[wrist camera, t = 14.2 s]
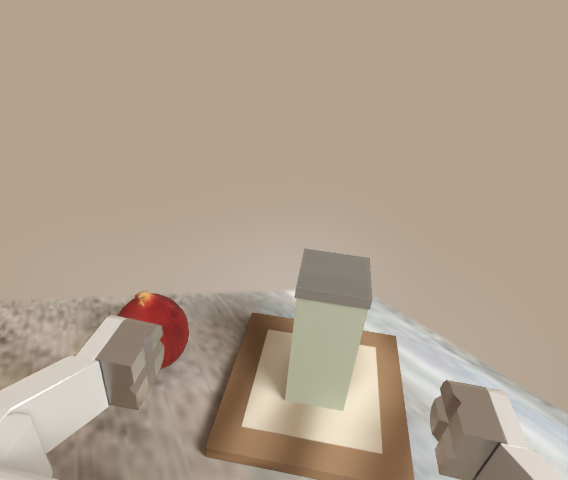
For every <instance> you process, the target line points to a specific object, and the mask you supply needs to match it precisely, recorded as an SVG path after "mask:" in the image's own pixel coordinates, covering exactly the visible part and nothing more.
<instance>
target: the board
mask: <svg viewBox="0 0 568 480" xmlns="http://www.w3.org/2000/svg"><path fill="white" fill-rule="evenodd" d="M293 325H294V319H289V318H283V317H276V316H270V315H264V314H258V313H252V314H251V317H250V320H249V323H248V326H247V329H246V332H245V335H244V338H243V340H242V343H241V346H240V349H239V352H238V355H237V358H236V361H235V364H234V366H233V369H232V372H231V375H230V378H229V381H228V384H227V387H226V390H225V392H224V395H223V398H222V401H221V404H220V407H219V410H218V413H217V416H216V418H215V421H214V424H213V427H212V430H211V433H210V436H209V439H208V442H207V444H206V447H205V452H206V457H211V458H216V459H221V460H226V461H231V462H236V463H240V464H245V465H250V466H255V467H260V468H265V469H270V470H275V471H280V472H285V473H289V474H294V475H299V476H304V477H309V478H314V479H319V480H414V473H413V465H412V457H411V450H410V442H409V434H408V426H407V419H406V411H405V403H404V396H403V388H402V380H401V373H400V365H399V357H398V350H397V342H396V336H392V335H386V334H380V333H374V332H368V331H363V332H362V336H361V340H360V344H359V348H358V352H357V357H356V361H355V365H354V369H353V373H352V377H351V382H350V386H349V390H348V394H347V398H346V402H345V407H344V411H339V410H333V409H328V408H322V407H317V406H312V405H306V404H301V403H295V402H290V401H285V395H286V386H287V378H288V369H289V360H290V351H291V343H292V334H293Z"/></svg>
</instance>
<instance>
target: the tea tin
mask: <svg viewBox="0 0 568 480" xmlns="http://www.w3.org/2000/svg"><path fill="white" fill-rule="evenodd" d="M295 298H297V299H296V308H295V317H294V325H293V334H292V343H291V351H290V360H289V369H288V378H287V386H286V395H285V401H290V402H295V403H301V404H306V405H312V406H317V407H322V408H328V409H333V410H339V411H344V407H345V402H346V398H347V394H348V390H349V386H350V382H351V377H352V373H353V369H354V365H355V361H356V357H357V352H358V348H359V344H360V340H361V336H362V332H363V327H364V323H365V319H366V315H367V311H368V309H370V307H371V302H372V289H371V272H370V258H364V257H358V256H350V255H344V254H337V253H331V252H324V251H317V250H310V249H304V253H303V258H302V263H301V267H300V272H299V277H298V281H297V286H296V293H295Z"/></svg>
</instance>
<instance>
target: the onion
mask: <svg viewBox="0 0 568 480" xmlns="http://www.w3.org/2000/svg"><path fill="white" fill-rule="evenodd" d="M118 316H120V317H125V318H130V319H135V320H139V321H144V322H148V323H153V324H157V325H160V326H162V331H163V335H162V337H161V338H160V341H161V342H162V344H163V345H164V358H163V362H162V365H161V368H160V369H162V368H164V367H167V366H169V365H171V364H172V363H173V362H175V361H176V360H177V359H178V358H179V357H180V355H181V354H182V352H183V351H184V349H185V346H186V344H187V342H188V336H189V329H188V322H187V318H186V315H185V313H184V312H183V310H182V309H181V308H180V307H179V306H178V305H177V304H176V303H175V302H174V301H173V300H172V299H170V298H168V297H165V296H162V295H159V294H153V293H149V292H148V291H143V292H140V293H138V294H137V295H135V299H133V300H131V301H130V302H129V303H128V304H127V305H125V306H124V307H123V308H122V310H121V311H120V313H119V314H118Z"/></svg>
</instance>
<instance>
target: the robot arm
mask: <svg viewBox="0 0 568 480" xmlns="http://www.w3.org/2000/svg"><path fill="white" fill-rule="evenodd" d="M162 335H163V331H162V326H160V325H157V324H153V323H148V322H144V321H139V320H135V319H130V318H125V317H120V316H115V315H110V316H108V317H107V318H106V319H105V320H104V321H103V322H102V323H101V325H100V326H99V327H98V328H97V330H96V331H95V332H94V333H93V335H92V336H91V337H90V338H89V340H88V341H87V342H86V343H85V345H84V346H83V347H82V348H81V350H80V351H79V352H78V353H77V354H76V356H72V355H70V356H68V357H66V358H64V359H62V360H60V361H58V362H56V363H54V364H52V365H50V366H48V367H46V368H44V369H42V370H40V371H38V372H36V373H34V374H32V375H30V376H28V377H26V378H24V379H22V380H20V381H18V382H16V383H14V384H12V385H10V386H8V387H6V388H4V389H2V390H0V480H59V479H55V478H52V476H53V469H52V467H51V464H50V462H49V460H48V457H47V455H46V454H47V453H48V452H49V451H50V450H52V449H53V448H54V447H56V446H57V445H58V444H60V443H61V442H62V441H64V440H65V439H66V438H68V437H69V436H70V435H72V434H73V433H74V432H76V431H77V430H78V429H80V428H81V427H82V426H84V425H85V424H86V423H88V422H89V421H90V420H92V419H93V418H94V417H96V416H97V415H98V414H100V413H101V412H102V411H104V410H105V409H106V408H108V407H109V405H112V406H118V407H123V408H129V409H134V410H138V409H139V407H140V406H141V404H142V402H143V400H144V398H145V396H146V395H147V393H148V391H149V386H148V382H149V381H150V380H152V379H154V378H155V377H156V376H157V374H158V372H159V370H160V368H161V365H162V362H163V358H164V345H163V344H162V342H161V341H160V338H161V337H162ZM440 390H441V395H442V396H440V397H438V398H436V399H435V400H434V402H433V405H432V407H431V414H430V425H431V431H432V434H433V436H434V437H435V438H436V439H437V441H438V442H439V443H438V444H437V446H436V448H435V453H436V458H437V464H438V469H439V474H440V475H444V476H448V477H453V478H457V479H461V480H564V479H563V478H562V477H561V476H560V475H559V474H558V473H557V472H556V471H555V470H554V469H553V468H552V467H551V466H550V465H549V464H548V463H547V462H546V461H545V460H544V459H543V458H542V457H541V456H540V455H539V454H538V453H537V452H536V451H535V450H532V449H529V448H528V445H527V443H526V440H525V438H524V435H523V433H522V430H521V428H520V425H519V423H518V420H517V418H516V416H515V413H514V411H513V408H512V406H511V403H510V401H509V398H508V396H507V394H506V393H505V392H504V391H502V390H496V389H491V388H486V387H481V386H476V385H470V384H465V383H459V382H454V381H448V380H446V381H445V382H443V384H442V386H441V388H440Z"/></svg>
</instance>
